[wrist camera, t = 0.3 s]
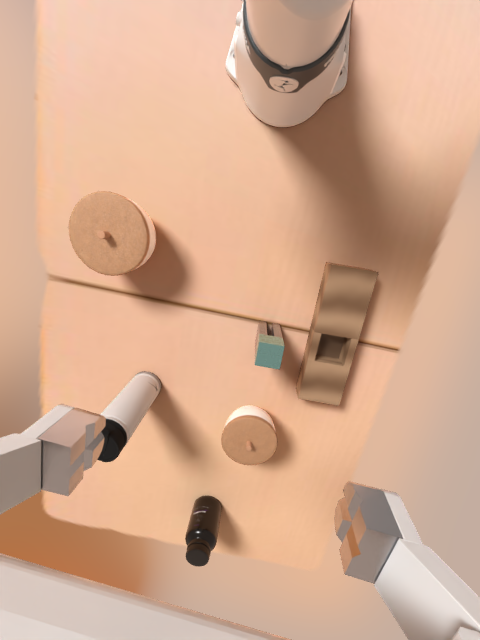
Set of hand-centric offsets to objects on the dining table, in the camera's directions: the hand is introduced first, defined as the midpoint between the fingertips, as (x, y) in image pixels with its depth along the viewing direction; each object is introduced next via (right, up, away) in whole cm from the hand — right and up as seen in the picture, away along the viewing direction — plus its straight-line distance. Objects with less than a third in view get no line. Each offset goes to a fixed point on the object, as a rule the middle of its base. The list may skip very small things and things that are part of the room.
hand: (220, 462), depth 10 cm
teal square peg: (+6, +2, +48) cm, 48 cm away
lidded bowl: (-19, +20, +45) cm, 53 cm away
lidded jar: (+3, -17, +54) cm, 56 cm away
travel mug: (-19, -9, +53) cm, 57 cm away
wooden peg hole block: (+18, +2, +47) cm, 50 cm away
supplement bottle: (-7, -40, +61) cm, 73 cm away
